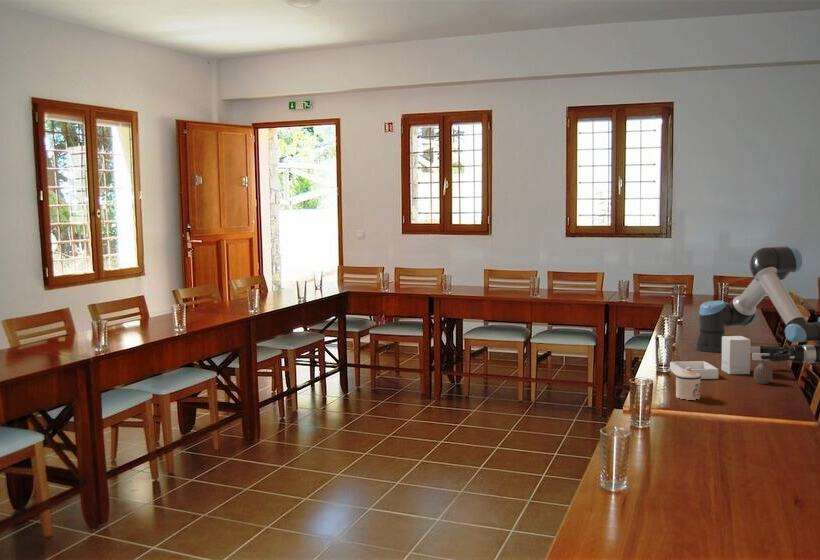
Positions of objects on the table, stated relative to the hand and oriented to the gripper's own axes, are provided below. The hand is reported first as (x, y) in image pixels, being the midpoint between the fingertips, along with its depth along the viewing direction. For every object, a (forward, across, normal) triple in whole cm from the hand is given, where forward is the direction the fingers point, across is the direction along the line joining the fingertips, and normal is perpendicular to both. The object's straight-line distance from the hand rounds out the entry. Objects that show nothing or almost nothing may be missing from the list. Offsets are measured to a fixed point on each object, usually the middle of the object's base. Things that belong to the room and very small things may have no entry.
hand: (748, 353), depth 315 cm
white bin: (+23, -6, -8) cm, 25 cm away
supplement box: (+5, +1, -9) cm, 10 cm away
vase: (-1, -18, -9) cm, 20 cm away
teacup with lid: (+31, -41, -9) cm, 52 cm away
